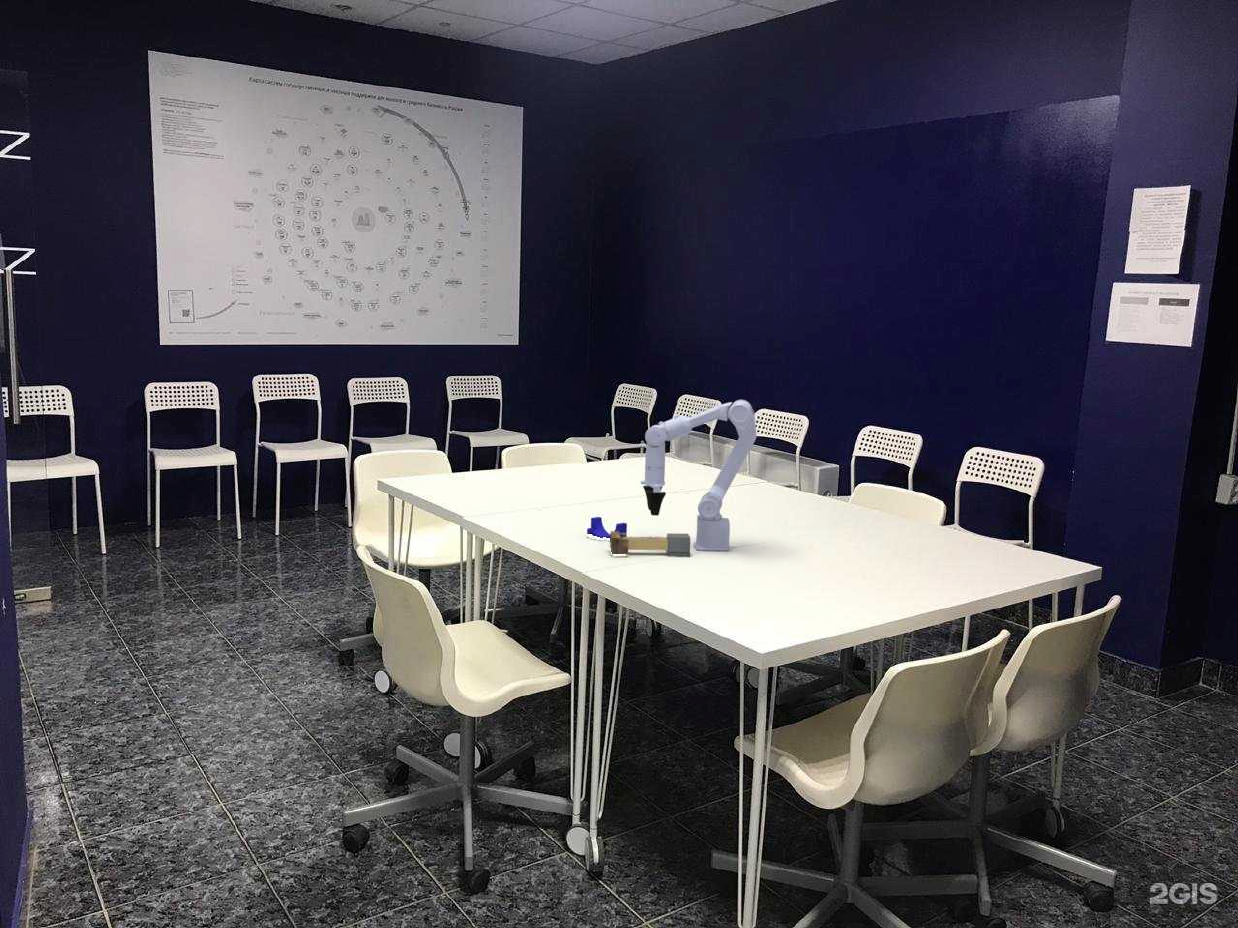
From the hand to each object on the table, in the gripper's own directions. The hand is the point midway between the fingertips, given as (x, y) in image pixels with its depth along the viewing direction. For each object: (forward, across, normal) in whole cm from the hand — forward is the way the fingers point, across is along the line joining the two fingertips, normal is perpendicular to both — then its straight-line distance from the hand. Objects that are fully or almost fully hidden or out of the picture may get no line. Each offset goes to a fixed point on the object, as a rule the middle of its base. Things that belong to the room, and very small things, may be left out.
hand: (653, 512), depth 292 cm
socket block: (+9, +12, -11) cm, 19 cm away
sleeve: (+9, +12, +6) cm, 16 cm away
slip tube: (+8, +12, -3) cm, 15 cm away
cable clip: (+10, -4, -13) cm, 17 cm away
